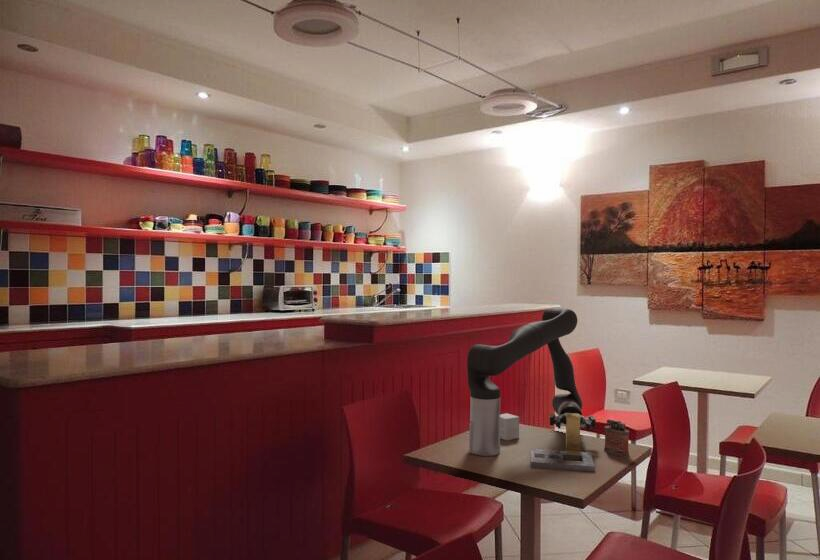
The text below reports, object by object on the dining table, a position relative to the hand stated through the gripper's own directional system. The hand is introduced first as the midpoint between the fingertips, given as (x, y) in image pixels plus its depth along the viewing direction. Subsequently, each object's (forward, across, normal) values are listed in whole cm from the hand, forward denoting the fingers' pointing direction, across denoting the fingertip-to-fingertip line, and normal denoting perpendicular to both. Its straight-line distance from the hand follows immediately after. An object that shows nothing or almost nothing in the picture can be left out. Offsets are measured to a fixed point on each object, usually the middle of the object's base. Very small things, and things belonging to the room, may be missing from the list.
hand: (573, 426), depth 178 cm
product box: (-12, -21, +8) cm, 26 cm away
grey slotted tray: (+11, -4, +8) cm, 14 cm away
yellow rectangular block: (-2, 0, +8) cm, 8 cm away
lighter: (-2, +13, +8) cm, 15 cm away
